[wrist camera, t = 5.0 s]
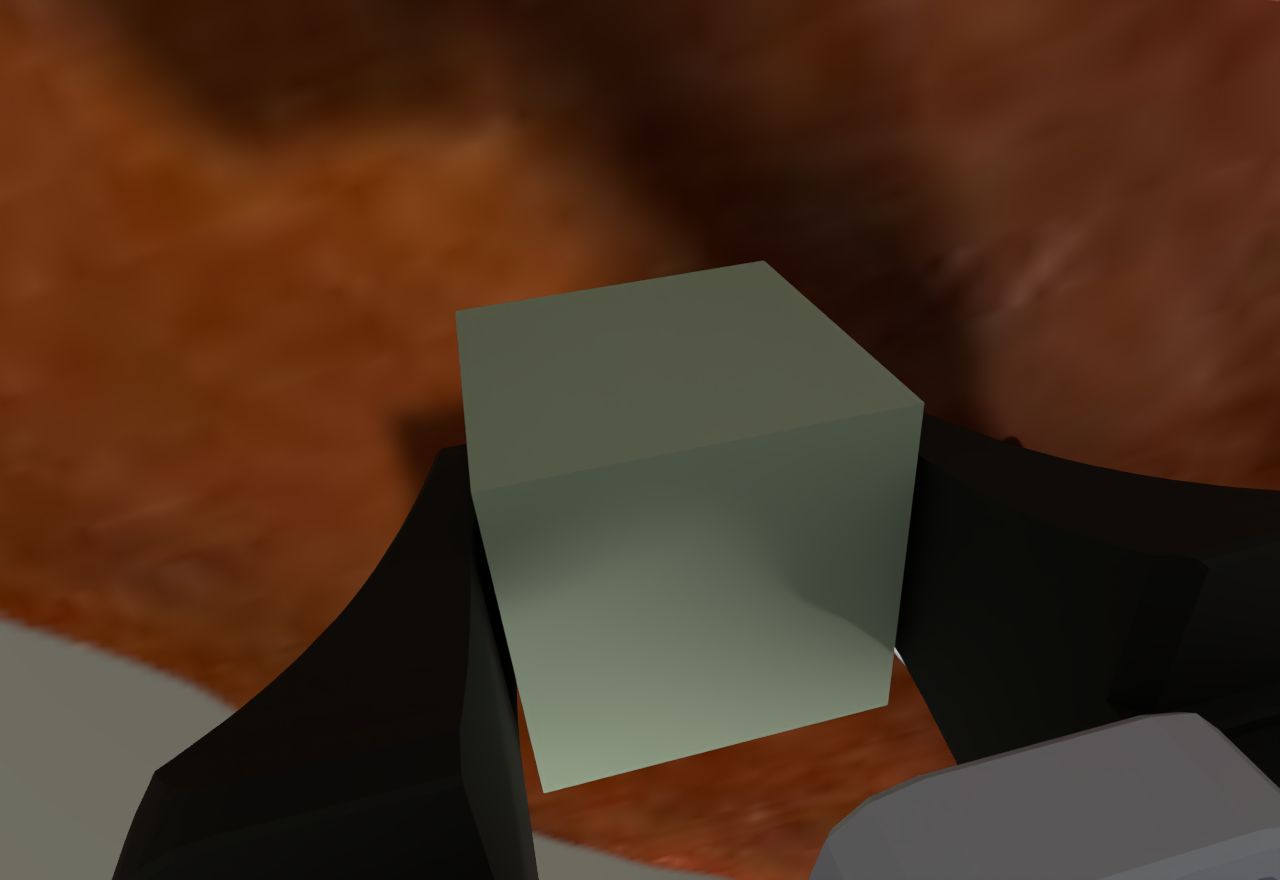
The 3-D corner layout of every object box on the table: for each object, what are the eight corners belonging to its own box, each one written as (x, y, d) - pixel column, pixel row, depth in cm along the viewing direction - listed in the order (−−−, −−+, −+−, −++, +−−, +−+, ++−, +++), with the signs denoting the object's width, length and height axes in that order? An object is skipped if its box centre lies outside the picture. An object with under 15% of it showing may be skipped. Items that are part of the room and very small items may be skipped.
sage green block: (763, 505, 16) (887, 704, 11) (510, 559, 15) (543, 793, 11) (763, 260, 13) (924, 402, 9) (455, 311, 12) (471, 493, 8)
